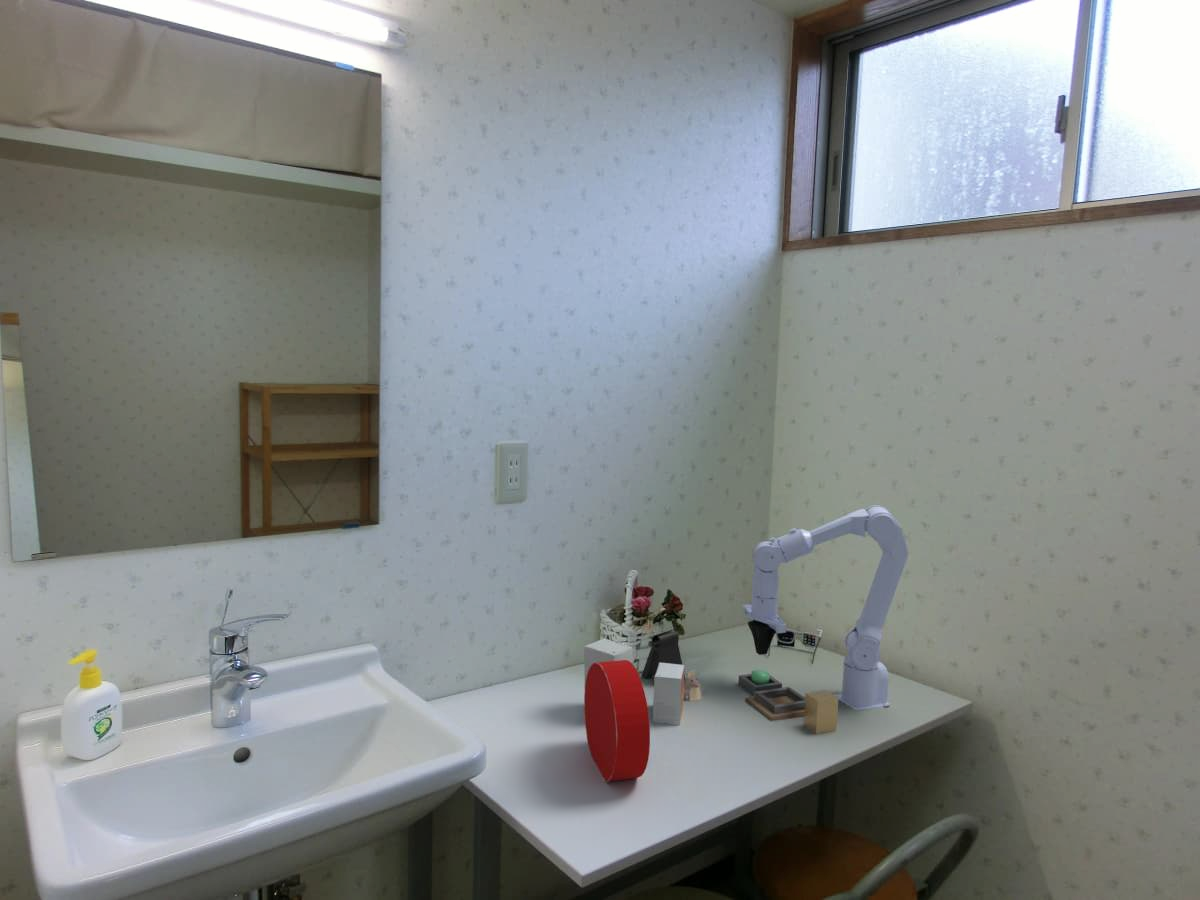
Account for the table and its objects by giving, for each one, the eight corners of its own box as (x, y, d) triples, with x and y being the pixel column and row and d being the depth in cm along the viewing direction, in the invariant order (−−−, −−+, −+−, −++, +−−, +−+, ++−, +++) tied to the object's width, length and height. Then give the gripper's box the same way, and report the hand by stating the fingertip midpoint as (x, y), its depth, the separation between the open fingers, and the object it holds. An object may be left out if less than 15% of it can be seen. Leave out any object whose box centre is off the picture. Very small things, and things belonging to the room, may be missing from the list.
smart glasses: (823, 645, 204) (823, 628, 203) (813, 673, 192) (814, 655, 190) (777, 637, 209) (777, 620, 208) (765, 664, 196) (766, 646, 195)
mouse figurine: (681, 688, 175) (683, 660, 175) (707, 701, 169) (708, 671, 168) (665, 694, 172) (666, 665, 172) (690, 707, 166) (691, 677, 165)
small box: (679, 729, 155) (681, 679, 154) (652, 725, 157) (654, 676, 155) (683, 712, 163) (685, 664, 162) (657, 709, 164) (659, 661, 163)
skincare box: (632, 720, 159) (635, 647, 157) (611, 730, 154) (613, 655, 152) (603, 707, 164) (605, 636, 163) (581, 717, 160) (583, 644, 158)
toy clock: (647, 800, 129) (652, 686, 127) (614, 805, 128) (618, 689, 126) (612, 744, 148) (615, 643, 146) (582, 747, 147) (585, 646, 145)
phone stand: (686, 686, 177) (688, 635, 175) (668, 692, 173) (671, 641, 171) (658, 673, 183) (660, 625, 182) (640, 680, 179) (642, 630, 178)
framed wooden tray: (790, 694, 174) (791, 684, 173) (819, 713, 164) (819, 702, 164) (745, 701, 169) (745, 690, 169) (771, 721, 160) (772, 710, 160)
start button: (762, 678, 179) (763, 668, 179) (772, 684, 175) (772, 675, 175) (747, 680, 177) (748, 671, 177) (757, 687, 174) (757, 677, 173)
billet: (823, 722, 161) (825, 690, 160) (836, 730, 157) (838, 697, 156) (803, 725, 159) (805, 693, 158) (815, 734, 155) (818, 701, 154)
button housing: (764, 680, 181) (764, 672, 181) (781, 693, 174) (782, 683, 174) (738, 684, 178) (738, 675, 178) (755, 697, 172) (755, 687, 172)
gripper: (732, 587, 179) (729, 644, 181) (768, 606, 166) (764, 667, 167) (758, 585, 182) (755, 641, 183) (795, 603, 168) (791, 663, 170)
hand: (761, 653), depth 175 cm, fingers closed
